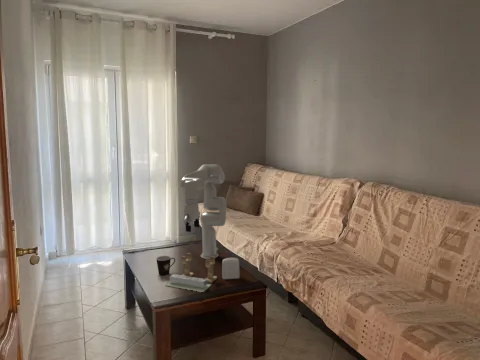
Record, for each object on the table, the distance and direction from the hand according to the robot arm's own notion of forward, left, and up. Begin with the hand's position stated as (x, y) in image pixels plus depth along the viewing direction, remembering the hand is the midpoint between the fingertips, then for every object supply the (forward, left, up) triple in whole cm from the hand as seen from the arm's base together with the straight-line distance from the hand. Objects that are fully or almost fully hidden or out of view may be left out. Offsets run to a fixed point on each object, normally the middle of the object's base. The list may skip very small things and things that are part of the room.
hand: (192, 229), depth 212 cm
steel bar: (+13, +4, -29) cm, 32 cm away
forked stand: (+1, +4, -29) cm, 29 cm away
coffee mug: (+2, -18, -30) cm, 35 cm away
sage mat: (+13, +4, -29) cm, 32 cm away
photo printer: (-6, +22, -30) cm, 37 cm away
